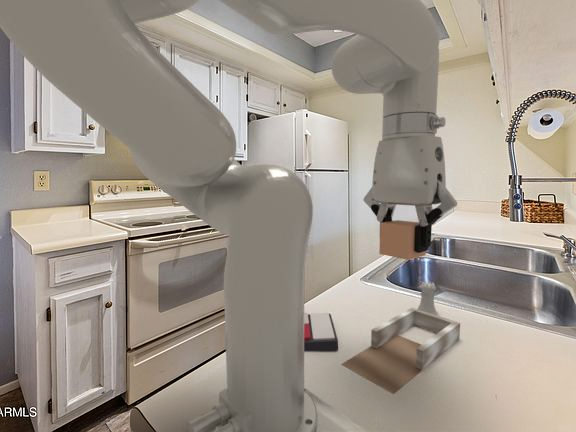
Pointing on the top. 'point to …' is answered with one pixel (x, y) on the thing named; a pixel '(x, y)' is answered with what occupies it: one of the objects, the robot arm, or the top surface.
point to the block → (398, 239)
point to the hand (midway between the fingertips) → (403, 247)
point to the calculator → (319, 332)
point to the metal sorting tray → (403, 349)
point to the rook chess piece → (427, 298)
